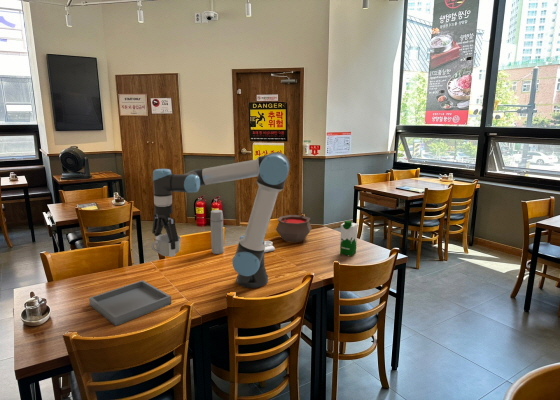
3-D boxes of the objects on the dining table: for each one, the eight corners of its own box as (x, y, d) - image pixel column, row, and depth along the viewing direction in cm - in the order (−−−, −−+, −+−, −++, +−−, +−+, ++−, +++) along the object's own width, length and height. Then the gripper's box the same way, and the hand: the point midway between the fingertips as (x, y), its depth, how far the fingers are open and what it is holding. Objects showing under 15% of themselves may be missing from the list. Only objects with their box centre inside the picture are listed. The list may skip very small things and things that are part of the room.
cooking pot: (288, 231, 264) (288, 208, 260) (318, 237, 250) (319, 214, 247) (268, 240, 244) (268, 216, 241) (299, 247, 231) (299, 221, 227)
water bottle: (221, 255, 218) (220, 213, 212) (209, 254, 219) (207, 212, 214) (227, 249, 227) (226, 209, 221) (214, 248, 228) (213, 208, 223)
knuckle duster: (252, 256, 217) (241, 249, 229) (279, 250, 226) (267, 244, 238) (252, 250, 216) (241, 243, 228) (279, 245, 226) (267, 239, 238)
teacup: (174, 248, 177) (173, 232, 175) (185, 254, 169) (185, 237, 168) (145, 255, 168) (144, 237, 166) (156, 262, 160) (155, 244, 158)
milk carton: (338, 254, 220) (339, 221, 215) (344, 249, 227) (345, 217, 223) (352, 257, 215) (353, 223, 211) (358, 252, 222) (359, 219, 218)
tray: (171, 303, 160) (170, 296, 159) (115, 326, 143) (114, 317, 142) (143, 287, 176) (142, 280, 175) (89, 305, 159) (89, 297, 158)
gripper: (185, 208, 158) (187, 257, 163) (157, 199, 174) (160, 244, 179) (169, 210, 153) (171, 261, 158) (142, 201, 169) (145, 248, 173)
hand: (165, 252), depth 168 cm, fingers closed on teacup, 11 cm apart
